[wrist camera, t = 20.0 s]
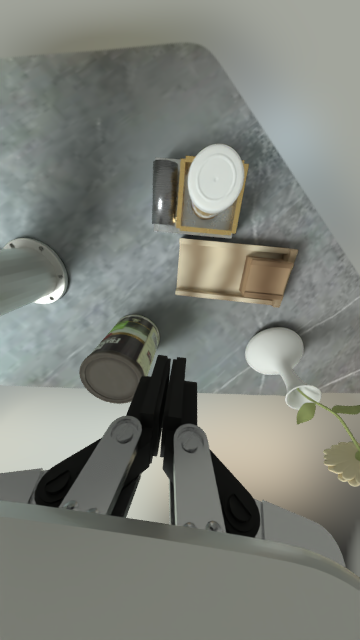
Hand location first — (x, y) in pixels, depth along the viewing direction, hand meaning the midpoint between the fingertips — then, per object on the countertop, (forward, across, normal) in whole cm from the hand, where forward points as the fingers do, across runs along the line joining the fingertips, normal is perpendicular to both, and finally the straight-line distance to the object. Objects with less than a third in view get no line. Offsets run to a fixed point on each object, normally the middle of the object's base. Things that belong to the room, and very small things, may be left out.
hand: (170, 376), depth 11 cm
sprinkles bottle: (+23, -2, -12) cm, 26 cm away
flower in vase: (+27, -20, +13) cm, 36 cm away
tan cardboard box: (+26, -12, -2) cm, 29 cm away
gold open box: (+27, 0, -12) cm, 30 cm away
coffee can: (+27, +10, +14) cm, 32 cm away
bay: (+27, -7, -2) cm, 28 cm away
